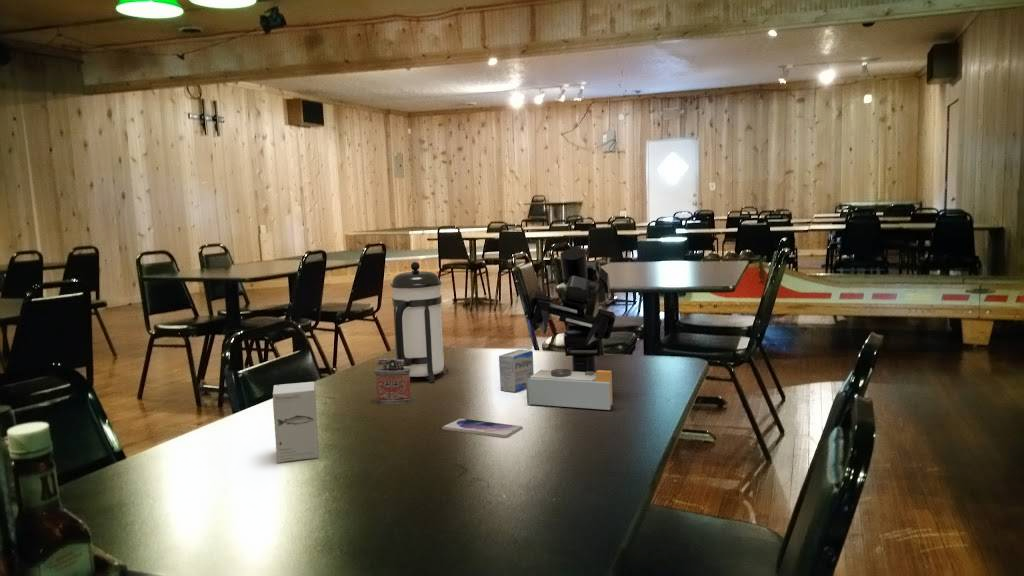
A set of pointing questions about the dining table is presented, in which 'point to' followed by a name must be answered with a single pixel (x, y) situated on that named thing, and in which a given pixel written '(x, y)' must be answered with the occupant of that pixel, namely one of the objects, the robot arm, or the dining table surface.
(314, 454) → the supplement box
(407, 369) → the lighter
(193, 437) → the dining table surface
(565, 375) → the camera housing
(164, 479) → the dining table surface
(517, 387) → the medicine box
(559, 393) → the side door
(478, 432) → the smartphone
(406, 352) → the coffee press
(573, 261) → the robot arm
